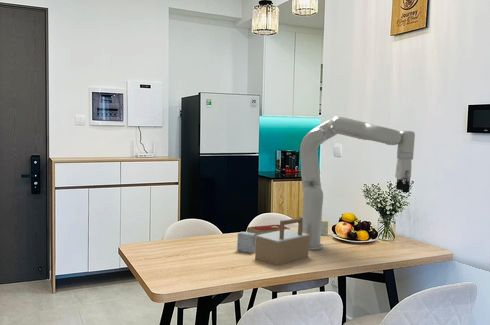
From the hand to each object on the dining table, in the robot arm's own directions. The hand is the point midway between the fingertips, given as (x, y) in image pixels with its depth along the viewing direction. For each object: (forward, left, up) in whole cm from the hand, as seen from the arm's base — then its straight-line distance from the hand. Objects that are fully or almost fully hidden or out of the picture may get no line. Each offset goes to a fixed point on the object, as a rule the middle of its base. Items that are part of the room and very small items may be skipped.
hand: (402, 190), depth 222 cm
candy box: (-50, -3, -31) cm, 59 cm away
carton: (-30, -54, -31) cm, 69 cm away
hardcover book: (-65, -23, -32) cm, 76 cm away
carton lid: (-30, -54, -21) cm, 65 cm away
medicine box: (-48, -59, -31) cm, 82 cm away
